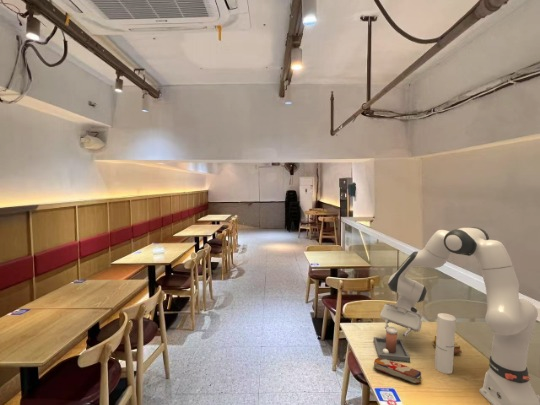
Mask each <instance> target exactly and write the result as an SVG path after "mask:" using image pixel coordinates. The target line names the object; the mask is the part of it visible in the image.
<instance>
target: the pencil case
mask: <svg viewBox="0 0 540 405" xmlns="http://www.w3.org/2000/svg"><path fill="white" fill-rule="evenodd" d="M373 367H374V368H375V369H376V370H378V371H381V372H382V373H385V374H388V375H391V376H393V377H397V378H399V379H403V380H405V381H407V382H410V383H414V384H419V383H420V382H421V380H422V379H423V377H422V372H421V371H420V370H418V369H414V368H413V367H410V366H408V365H405V364H401V363H400V362H399V363H398V362H397V361H390V360H386V359H382V358H379V357H377V358H375V359H374V362H373Z"/></svg>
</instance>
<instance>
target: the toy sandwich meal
mask: <svg viewBox="0 0 540 405" xmlns="http://www.w3.org/2000/svg"><path fill="white" fill-rule="evenodd" d="M432 346H433V347H434V348H436V335H434V340H433V341H432ZM461 353H462V350H461V346H460V345H459V344H458V343H456V342H455V341H454V355H456V354H461Z"/></svg>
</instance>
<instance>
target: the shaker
mask: <svg viewBox="0 0 540 405" xmlns="http://www.w3.org/2000/svg"><path fill="white" fill-rule="evenodd" d="M385 331H386V334H385V338H386V349H387V350H388V351H389V353H396V346H397V339H398V329H397V328H396V327H393V326H389V327H387V328H386V329H385Z"/></svg>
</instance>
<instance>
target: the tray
mask: <svg viewBox="0 0 540 405" xmlns="http://www.w3.org/2000/svg"><path fill="white" fill-rule="evenodd" d="M373 344H374V347H375V350H376V353H377V356H378V357H377V358H382V359H386V360H390V361H393V362H397V363H398V362H399V363H409V364H410V363H411V356H410V354H409V352H408V350H407V348H406V346H405V344H404V343H403V340H402V339H399V338H397V346H396V353H389V354H383V353H382V350H383V349H386V337H379V336H378V337H377V336H374V337H373Z"/></svg>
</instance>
